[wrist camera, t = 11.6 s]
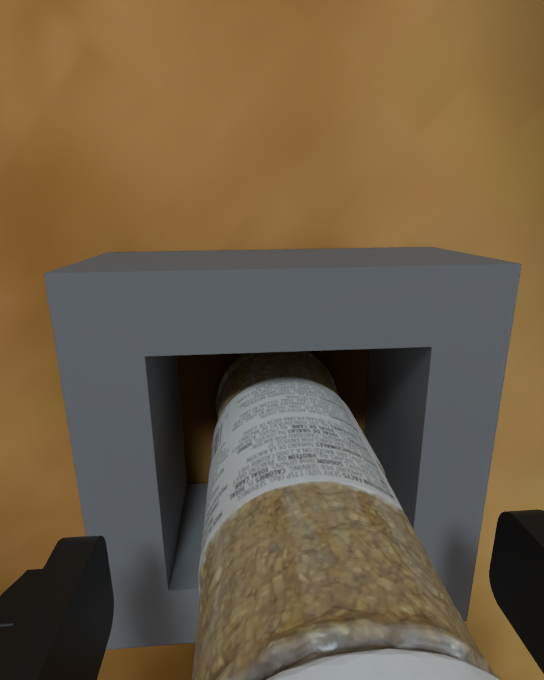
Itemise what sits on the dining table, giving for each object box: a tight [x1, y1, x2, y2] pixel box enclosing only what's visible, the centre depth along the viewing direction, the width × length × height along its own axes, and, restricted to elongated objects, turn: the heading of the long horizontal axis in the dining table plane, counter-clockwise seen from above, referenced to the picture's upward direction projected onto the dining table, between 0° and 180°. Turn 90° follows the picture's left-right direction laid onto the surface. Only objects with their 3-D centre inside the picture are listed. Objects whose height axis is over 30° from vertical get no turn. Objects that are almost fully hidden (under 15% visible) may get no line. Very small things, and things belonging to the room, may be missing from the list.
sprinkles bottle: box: [192, 351, 500, 680], centre depth 10 cm, size 5×5×13 cm
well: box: [44, 247, 521, 650], centre depth 14 cm, size 11×11×5 cm
